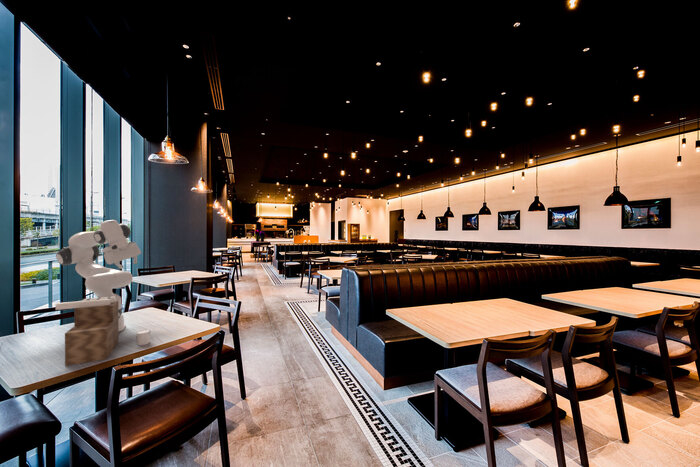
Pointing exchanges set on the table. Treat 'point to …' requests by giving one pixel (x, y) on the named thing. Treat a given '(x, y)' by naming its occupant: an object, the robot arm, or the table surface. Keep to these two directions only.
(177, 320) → the table surface
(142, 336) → the white rounded cube
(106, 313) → the two-step stand
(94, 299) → the striped bar
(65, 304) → the plain bar
